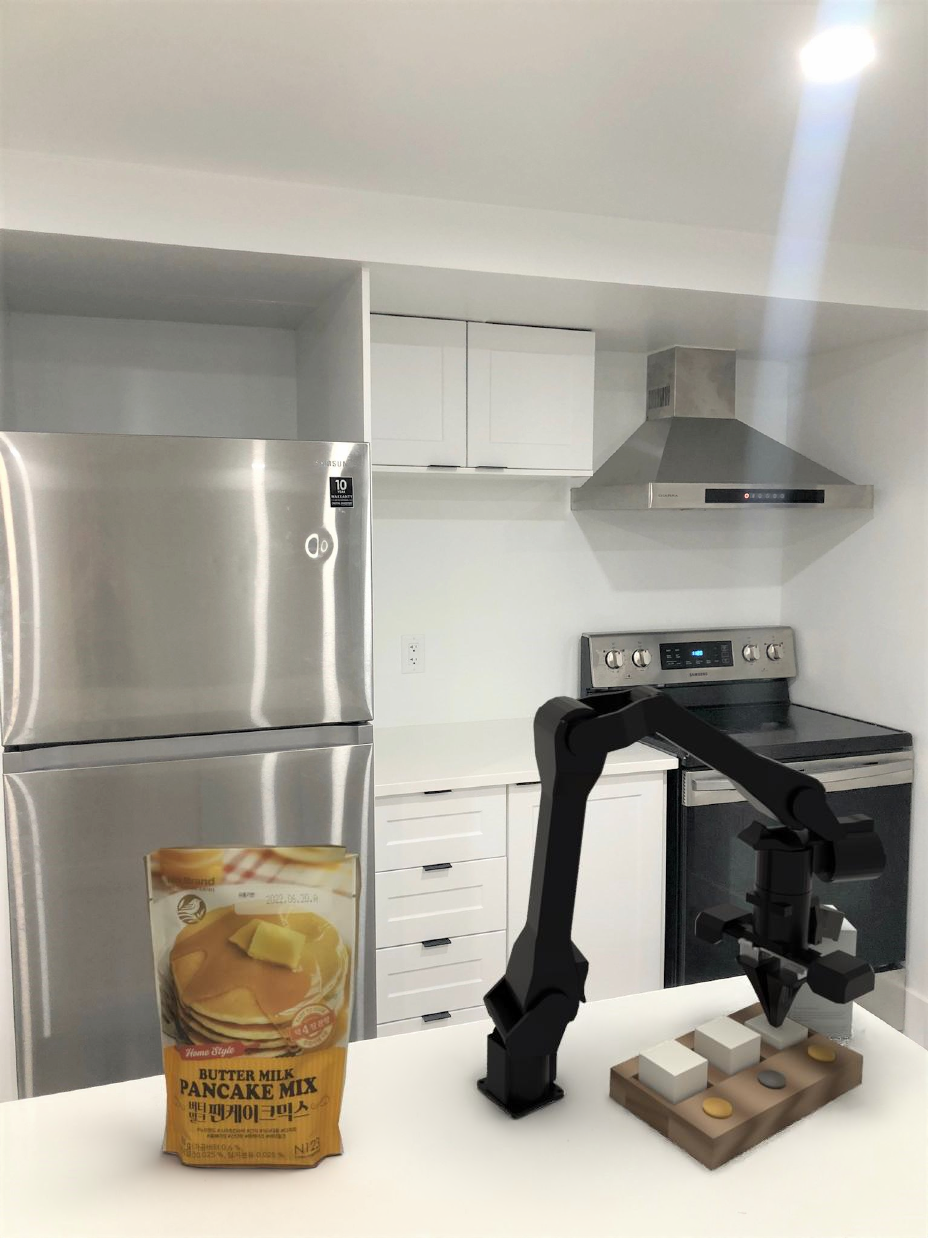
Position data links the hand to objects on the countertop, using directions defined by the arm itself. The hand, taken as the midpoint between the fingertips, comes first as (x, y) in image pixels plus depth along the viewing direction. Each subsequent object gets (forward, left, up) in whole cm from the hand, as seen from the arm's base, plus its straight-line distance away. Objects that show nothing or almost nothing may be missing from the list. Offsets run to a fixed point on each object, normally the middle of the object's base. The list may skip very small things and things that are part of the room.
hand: (775, 1025), depth 100 cm
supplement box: (+10, +2, -4) cm, 11 cm away
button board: (-8, -2, -4) cm, 9 cm away
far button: (0, 0, -3) cm, 3 cm away
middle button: (-8, 0, -1) cm, 8 cm away
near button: (-16, 0, -1) cm, 16 cm away
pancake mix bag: (-52, +18, -4) cm, 55 cm away
